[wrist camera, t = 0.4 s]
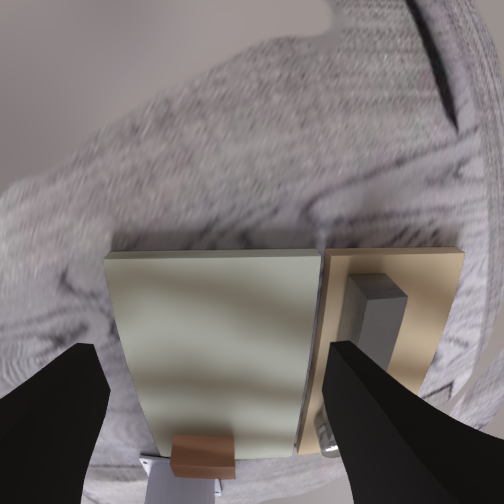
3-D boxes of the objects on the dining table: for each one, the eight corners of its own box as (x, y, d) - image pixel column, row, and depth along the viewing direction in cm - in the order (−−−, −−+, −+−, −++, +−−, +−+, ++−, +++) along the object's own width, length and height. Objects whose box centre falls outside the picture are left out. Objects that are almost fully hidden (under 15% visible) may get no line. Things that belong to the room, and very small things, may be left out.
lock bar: (347, 427, 22) (356, 453, 19) (311, 432, 22) (318, 460, 19) (390, 272, 17) (414, 296, 14) (341, 274, 17) (360, 300, 14)
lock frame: (390, 429, 25) (404, 460, 21) (162, 446, 24) (156, 483, 20) (455, 246, 18) (494, 271, 14) (110, 251, 17) (78, 284, 13)
